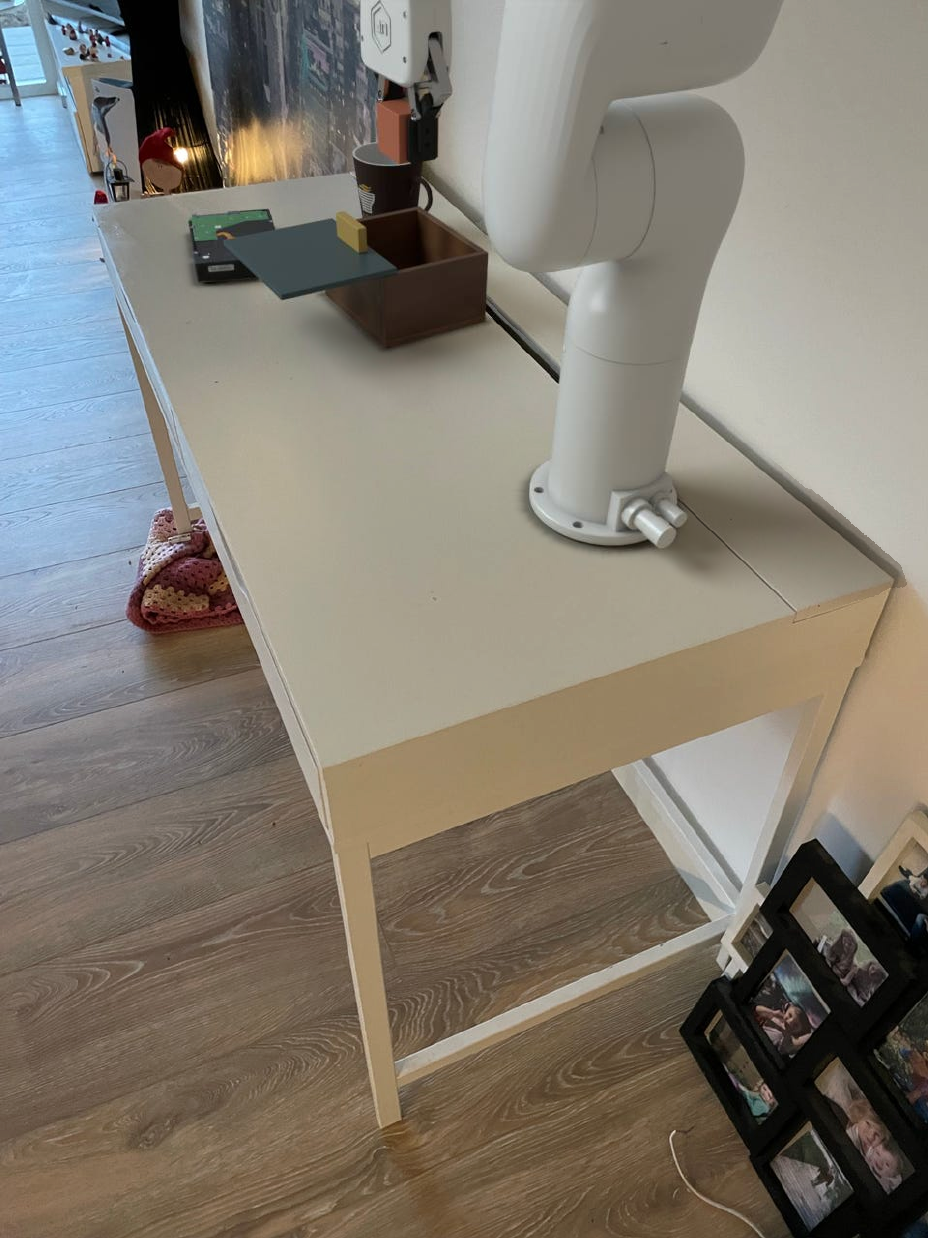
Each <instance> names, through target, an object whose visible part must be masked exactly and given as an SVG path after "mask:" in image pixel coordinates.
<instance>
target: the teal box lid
mask: <svg viewBox="0 0 928 1238" xmlns="http://www.w3.org/2000/svg"><path fill="white" fill-rule="evenodd" d="M355 219H356V218H354V217H352V215H350V214H349V213H347V212H346V211H345V210H342V211H337V212H335V219H334V218H333V217H331V218H326V219H320V220H316V221H311V222H306V223H301V224H296V225H291V226H286V227H280V228H275V230H271V231H266V232H261V233H256V234H251V235H246V236H241V237H236V238H231V239H226V240H224V246H225V247H226V248H228V249H229V250H230V251H231V252H232V253H233V254H234V255H235V256H236V257H237V258H238V259H239V260H240V261H241V262H242V263H243V264H244V265H245V266H246V267H247V268H248V269H249V270H251V271H252V272H253V273H254V274H255V275H256V276H257V277H258V278H257V279H259V280H260V281H261V282H262V283H263V284H264V285H265V286H266V287H267V288H268V289H269V290H270V291H271V292H272V293H273V294H274V295H275V296H276V297H278V299H280V301H285V300H289V299H294V298H295V299H296V298H298V297H299V298H300V297H302V296H303V297H304V296H307V295H312V294H316V293H319V292H323V291H324V292H325V290H329V289H333V288H337V287H341V286H346V285H350V284H354V283H358V282H363V281H367V280H371V279H375V278H380V277H384V276H388V275H392V274H397V268H396V267H395V266H394V265H392V264H391V263H390V262H388V261H387V260H386V259H385V258H383V257H382V256H381V255H379V254H378V253H377V252H375V251H374V250H373V249H372V248H370V247H369V246H368V245H367V234H366V227H365V226H363V225H362V224H361V223H359V222H358V221H357V220H355Z"/></svg>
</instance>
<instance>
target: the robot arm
mask: <svg viewBox="0 0 928 1238" xmlns="http://www.w3.org/2000/svg"><path fill="white" fill-rule="evenodd" d="M784 1H785V0H505V3H504V9H503V15H502V22H501V29H500V37H499V43H498V52H497V59H496V66H495V75H494V81H493V90H492V96H491V104H490V110H489V118H488V125H487V133H486V140H485V147H484V148H485V149H484V155H483V156H484V157H483V165H482V178H481V204H482V205H481V206H482V215H483V221H484V225H485V230H486V233H487V237H488V239H489V242H490V243H491V245H492V247H493V249H494V251H495V252H496V254H497V255H498V256H499V257H500V259H502V260H503V262H504V263H506V264H507V265H508V266H510V267H512V268H514V269H516V270H518V271H521V272H525V273H531V274H545V273H555V272H556V273H557V272H561V271H567V270H572V269H577V268H581V269H580V271H579V273H578V275H577V278H576V280H575V282H574V284H573V288H572V291H571V293H570V297H569V301H568V304H567V305H568V306H567V312H566V319H565V326H564V335H563V343H562V344H563V346H562V352H561V361H560V370H559V380H558V390H557V396H556V397H557V399H556V408H555V416H554V425H553V434H552V435H553V436H552V443H551V452H550V453H551V454H550V458H549V459H547V460H546V461H544V462H543V463H542V464H540V465H539V466H538V467H537V469H536V470H534V472H533V474H532V476H531V479H530V482H529V491H528V498H529V499H528V500H529V503H530V506H531V508H532V510H533V512H534V514H535V515H536V516H537V517H538V519H540V520H541V521H542V522H543V523H544V524H545V525H546V526H548V527H549V528H550V529H552V530H553V531H555V532H557V533H559V534H561V535H563V536H566V537H567V538H570V539H572V540H575V541H579V542H583V543H585V544H586V543H587V544H591V545H599V546H624V545H632V544H637V543H641V542H645V541H647V540H649V542H651V543H652V544H653V545H654V546H656V547H657V548H658V549H660V550H661V549H666V548H667V547H669V546H670V545H671V544H672V543H673V541H674V540H675V538H676V536H677V530H676V529H677V528H680V527H682V526H683V525H685V523H686V522H687V519H688V514H687V513H686V512H685V511H684V510H682V509H681V508H680V507H679V506H678V496H677V491H676V489H675V486H674V484H673V481H674V477H673V476H672V475H670V474H669V473H668V472H667V471H666V468H667V464H668V463H667V462H668V458H669V453H670V448H671V443H672V439H673V434H674V430H675V425H676V421H677V416H678V411H679V406H680V401H681V397H682V392H683V387H684V383H685V378H686V373H687V368H688V363H689V360H690V359H689V358H690V355H691V349H692V345H693V344H694V343H693V342H694V339H695V334H696V329H697V324H698V320H699V315H700V311H701V308H702V304H703V303H702V302H703V298H704V295H705V291H706V288H707V285H708V281H709V279H710V278H709V277H710V275H711V271H712V268H713V266H714V263H715V260H716V258H717V255H718V253H719V250H720V248H721V246H722V243H723V241H724V239H725V236H726V235H727V231H728V229H729V228H730V225H731V223H732V220H733V217H734V215H735V213H736V210H737V206H738V203H739V200H740V197H741V193H742V191H743V185H744V179H745V169H746V168H745V167H746V158H745V156H746V155H745V148H744V142H743V138H742V134H741V133H740V129H739V128H738V125H737V124H736V122H735V121H734V119H733V117H732V116H731V115H730V113H729V112H728V111H727V110H726V109H725V108H723V107H722V106H721V105H720V104H719V103H717V102H715V101H713V100H711V99H709V98H707V97H704V96H701V95H698V94H692V93H684V92H685V91H690V90H698V89H703V88H708V87H713V86H717V85H722V84H725V83H728V82H730V81H732V80H735V79H737V78H739V77H741V76H742V75H743V74H745V73H746V72H747V71H748V70H749V69H751V67H753V66H754V64H755V63H756V62H757V61H758V59H759V57H761V54H762V53H763V51H764V49H765V48H766V46H767V44H768V41H769V39H770V37H771V35H772V32H773V30H774V27H775V25H776V22H777V20H778V19H779V18H778V17H779V15H780V12H781V9H782V6H783V4H784ZM359 14H360V15H359V16H360V18H359V19H360V22H359V23H360V27H359V28H360V56H361V60H362V62H363V64H364V65H365V66H366V67H367V68H368V69H369V70H371V71H372V72H373V76H374V78H375V80H376V83H377V90H376V91H377V92H376V94H377V100H378V101H379V102H384V101H391V100H397V99H404V98H409V107H410V115H411V118H409V119H407V161H408V162H410V163H411V164H414V163H420V162H423V163H424V162H429V161H434V160H437V136H438V137H439V125H438V118H441V114H442V110H441V109H442V108H443V106H444V104H445V102H447V100H448V99H449V98H450V97H451V96H452V95H453V85H452V82H451V79H450V75H451V70H452V69H451V68H452V56H453V22H452V21H453V18H452V16H453V15H452V0H360V13H359ZM423 76H426V77H427V80H422V78H423ZM426 89H427V92H426V93H424V94H423V95H422V97H421V98H420V92H419V91H421V90H426ZM419 99H421V100H419ZM672 525H673V526H674V527H673V526H672Z"/></svg>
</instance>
